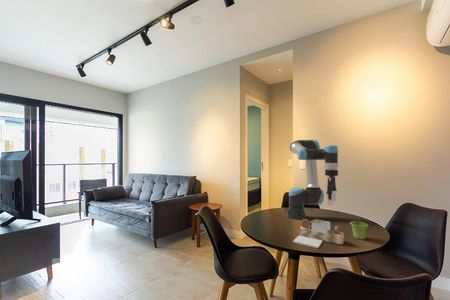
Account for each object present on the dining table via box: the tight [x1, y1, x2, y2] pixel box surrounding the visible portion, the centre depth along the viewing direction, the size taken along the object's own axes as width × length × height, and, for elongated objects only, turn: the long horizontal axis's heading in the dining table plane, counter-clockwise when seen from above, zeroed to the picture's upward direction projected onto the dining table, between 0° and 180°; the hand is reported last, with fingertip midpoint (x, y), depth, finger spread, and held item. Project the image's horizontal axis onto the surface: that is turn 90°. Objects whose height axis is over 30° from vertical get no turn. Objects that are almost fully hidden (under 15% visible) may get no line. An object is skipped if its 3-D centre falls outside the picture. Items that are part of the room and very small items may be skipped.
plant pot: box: [350, 221, 369, 240], centre depth 136 cm, size 9×9×9 cm
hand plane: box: [299, 218, 345, 246], centre depth 135 cm, size 24×6×10 cm, turn 54°
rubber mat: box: [292, 235, 324, 249], centre depth 129 cm, size 14×11×1 cm
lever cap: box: [312, 218, 331, 234], centre depth 135 cm, size 9×8×6 cm
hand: (331, 202), depth 140 cm, fingers open, 13 cm apart
